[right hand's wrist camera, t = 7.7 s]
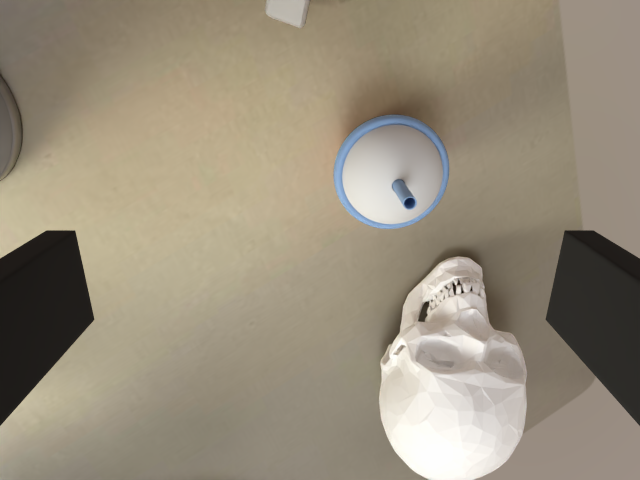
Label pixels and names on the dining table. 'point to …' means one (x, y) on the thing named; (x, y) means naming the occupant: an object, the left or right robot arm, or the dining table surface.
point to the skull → (452, 380)
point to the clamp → (288, 11)
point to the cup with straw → (391, 171)
